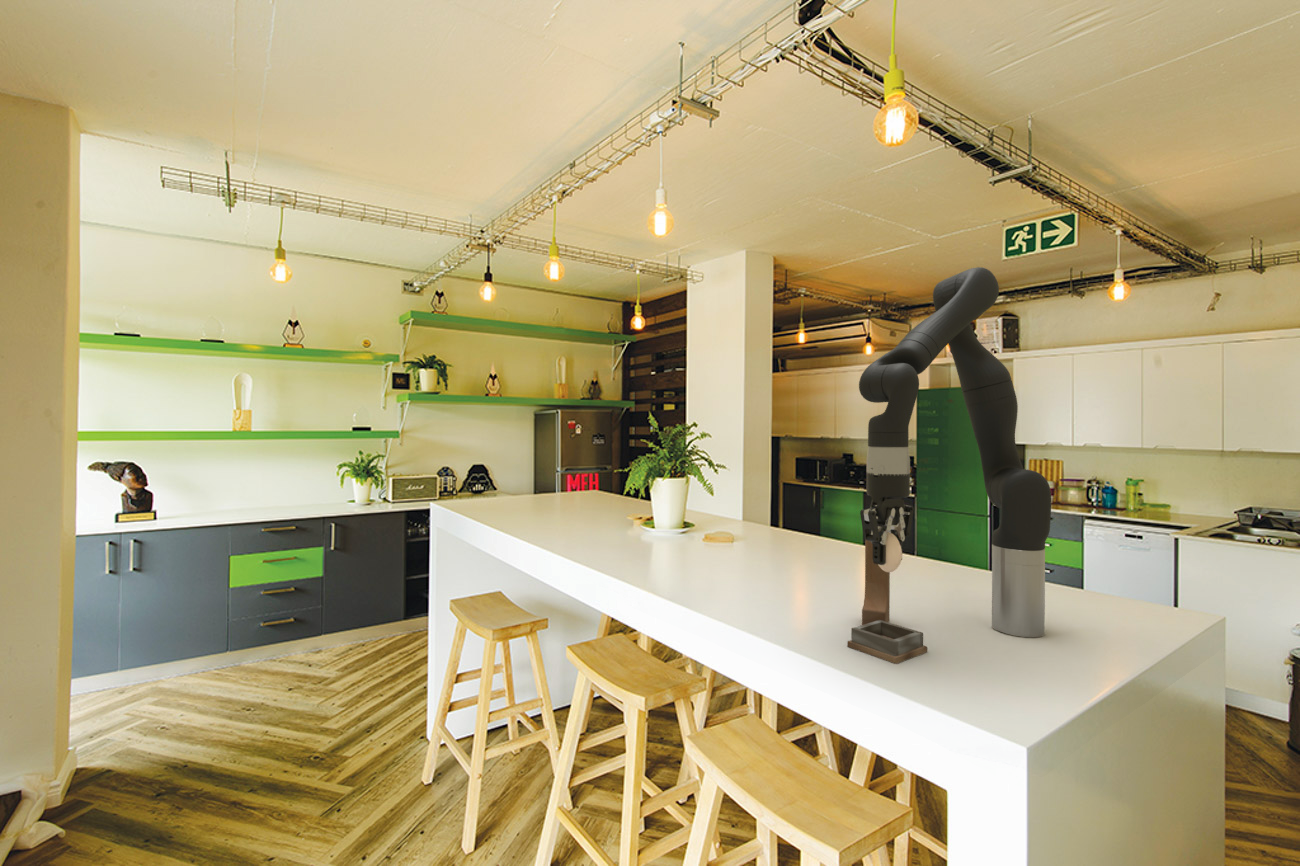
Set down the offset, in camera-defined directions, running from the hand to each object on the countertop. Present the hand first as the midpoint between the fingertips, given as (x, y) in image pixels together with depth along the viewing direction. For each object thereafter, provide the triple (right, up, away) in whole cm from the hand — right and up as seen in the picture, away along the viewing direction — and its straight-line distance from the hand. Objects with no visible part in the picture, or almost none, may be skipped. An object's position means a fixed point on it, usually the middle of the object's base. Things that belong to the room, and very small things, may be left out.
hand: (887, 561), depth 109 cm
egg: (0, -2, 0) cm, 2 cm away
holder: (0, -16, 0) cm, 16 cm away
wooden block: (+3, -17, +13) cm, 21 cm away
